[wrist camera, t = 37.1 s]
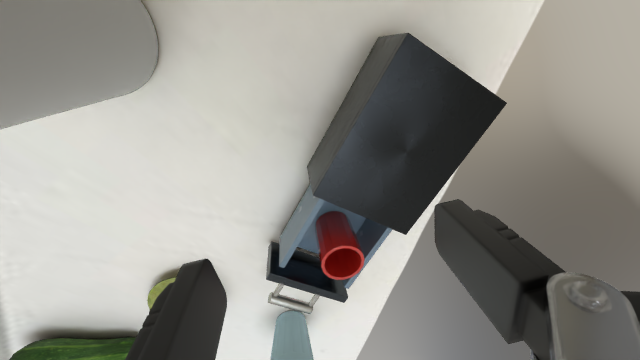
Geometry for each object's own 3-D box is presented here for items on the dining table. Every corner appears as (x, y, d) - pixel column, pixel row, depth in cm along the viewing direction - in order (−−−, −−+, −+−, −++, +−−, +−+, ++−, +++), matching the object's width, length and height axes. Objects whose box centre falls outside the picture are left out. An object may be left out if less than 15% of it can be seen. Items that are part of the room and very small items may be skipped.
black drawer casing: (383, 201, 43) (406, 235, 35) (306, 166, 39) (312, 195, 31) (460, 92, 37) (507, 103, 29) (378, 36, 33) (408, 32, 25)
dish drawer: (320, 292, 48) (325, 328, 42) (253, 272, 44) (249, 308, 38) (394, 186, 41) (413, 210, 35) (322, 151, 37) (329, 171, 31)
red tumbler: (308, 233, 41) (313, 272, 34) (325, 205, 39) (335, 240, 32) (338, 245, 43) (350, 284, 36) (356, 218, 41) (372, 254, 34)
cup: (267, 333, 52) (264, 395, 43) (273, 305, 49) (271, 364, 40) (306, 334, 54) (311, 394, 45) (314, 307, 51) (321, 364, 42)
